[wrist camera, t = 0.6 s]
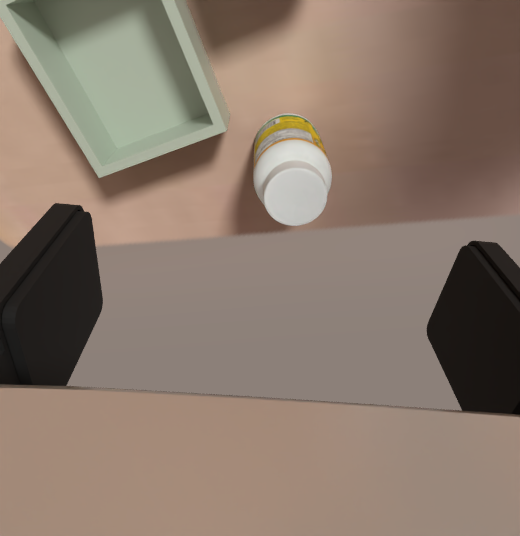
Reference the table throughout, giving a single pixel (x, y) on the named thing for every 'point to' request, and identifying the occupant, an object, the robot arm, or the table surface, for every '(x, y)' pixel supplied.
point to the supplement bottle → (291, 169)
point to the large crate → (121, 74)
